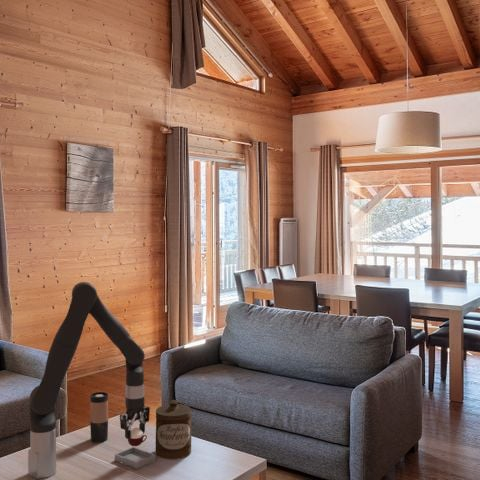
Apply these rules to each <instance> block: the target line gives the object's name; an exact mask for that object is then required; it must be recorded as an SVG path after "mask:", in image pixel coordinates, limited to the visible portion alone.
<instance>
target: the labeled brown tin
mask: <svg viewBox="0 0 480 480" xmlns="http://www.w3.org/2000/svg"><path fill="white" fill-rule="evenodd" d="M191 453H192V408H191V407H190V406H189V405H185V404H181V403H178V401H177V400H176V399H172V400H170V401H169V403H168V404H163V405H161V406H158V407H157V408H156V409H155V456H157V457H159V458H160V459H164V460H180V459H182V458H183V459H184V458H186V457H188V456H189V455H190V454H191Z"/></svg>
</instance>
